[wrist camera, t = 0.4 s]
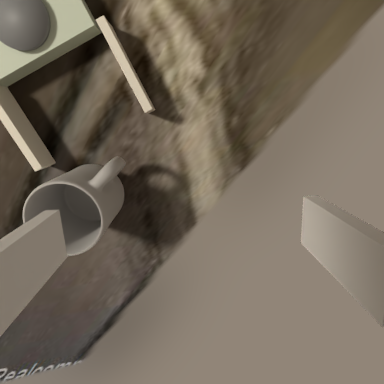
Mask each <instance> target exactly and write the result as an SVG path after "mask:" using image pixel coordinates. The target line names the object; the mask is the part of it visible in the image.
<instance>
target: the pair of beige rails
mask: <svg viewBox="0 0 384 384" xmlns="http://www.w3.org/2000/svg"><path fill="white" fill-rule="evenodd" d="M96 22H97V23H98V25H99V27H100V29H101V31H102V32H101V31H100V29H99V27H98V25H97V23H96ZM101 33H103V35H104V37H105V38H106V40H107V42H108V44H109V46H110V48H111V50H112V52H113V54H114V55H115V57H116V59H117V61H118V63H119V65H120V67H121V69H122V71H123V72H124V74H125V76H126V78H127V80H128V82H129V84H130V86H131V87H132V89H133V91H134V93H135V95H136V97H137V99H138V101H139V103H140V104H141V106H142V108H143V110H144V112H145V113H150V112H152V111H154V110H155V108H154V106H153V104H152V102H151V100H150V99H149V97H148V95H147V93H146V91H145V89H144V87H143V85H142V83H141V81H140V79H139V77H138V75H137V74H136V72H135V70H134V68H133V66H132V64H131V62H130V60H129V58H128V56H127V54H126V52H125V50H124V49H123V47H122V45H121V43H120V41H119V39H118V37H117V35H116V33H115V31H114V29H113V27H112V26H111V25H110V23H109V22H108V21H107V19H106V18H105V17H104V15H103V16H101V17H99V18H98V19H96V21H95V19H94V17H93V16H92V14H91V12H90V10H89V8H88V6H87V4H86V2H85V0H0V120H1V121H2V123H3V124H4V126H5V127H6V129H7V130H8V132H9V133H10V135H11V136H12V138H13V139H14V141H15V142H16V144H17V145H18V147H19V148H20V150H21V151H22V153H23V154H24V155H25V157H26V158H27V160H28V161H29V163H30V164H31V166H32V167H33V169H34V170H35V171H38V170H41V169H43V168H46V167H49V166H51V165H53V164H55V163H56V162H55V160H54V159H53V157H52V156H51V154H50V153H49V151H48V149H47V148H46V146H45V145H44V143H43V142H42V140H41V139H40V137H39V136H38V134H37V132H36V131H35V129H34V128H33V126H32V125H31V123H30V122H29V120H28V118H27V117H26V115H25V114H24V112H23V111H22V109H21V108H20V106H19V104H18V103H17V101H16V100H15V98H14V97H13V95H12V94H11V92H10V91H9V89H8V86H10V85H11V84H13V83H15V82H17V81H18V80H20V79H22V78H24V77H25V76H27V75H29V74H31V73H32V72H34V71H36V70H38V69H39V68H41V67H43V66H45V65H46V64H48V63H50V62H52V61H53V60H55V59H57V58H59V57H60V56H62V55H64V54H66V53H67V52H69V51H71V50H73V49H74V48H76V47H78V46H80V45H81V44H83V43H85V42H87V41H88V40H90V39H92V38H94V37H95V36H97V35H99V34H101Z"/></svg>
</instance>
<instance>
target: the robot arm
mask: <svg viewBox="0 0 384 384" xmlns="http://www.w3.org/2000/svg"><path fill="white" fill-rule="evenodd" d="M301 244H302V245H303V246H304V247H305V248H306V249H307V250H308V251H309V252H310V253H311V254H312V255H313V256H314V257H315V258H316V259H317V260H318V261H319V262H320V263H321V264H322V265H323V266H324V267H325V269H327V271H328V272H329V273H330V274H331V275H332V276H333V277H334V278H335V279H336V280H337V281H338V282H339V283H340V284H341V285H342V286H343V287H344V288H345V289H346V290H347V291H348V292H349V293H350V294H351V295H352V296H353V297H354V299H355V300H356V301H358V303H359V304H360V305H361V306H362V307H363V308H364V309H365V310H366V311H367V312H368V313H369V314H370V315H371V316H372V317H373V318H374V319H375V320H376V321H377V322H378V323H379V324H380V325H381V327H384V232H382V231H381V230H379V229H377V228H375V227H373V226H372V225H370V224H368V223H366V222H364V221H363V220H361V219H359V218H357V217H355V216H354V215H352V214H350V213H348V212H346V211H345V210H342V209H341V208H339V207H337V206H336V205H334V204H332V203H330V202H328V201H327V200H325V199H323V198H321V197H319V196H317V195H315V196H304V197H303V213H302V232H301ZM66 258H67V251H66V246H65V240H64V234H63V229H62V223H61V217H60V211H59V210H45V211H43V212H41V213H40V214H38V215H37V216H35V217H34V218H32V219H31V220H29V221H28V222H26V223H25V224H23V225H22V226H20V227H19V228H17V229H16V230H14V231H12V232H11V233H9V234H8V235H6V236H5V237H3V238H2V239H0V336H1V335H2V334H3V333H4V331H5V330H6V329H7V328H8V327H9V326H10V324H11V323H12V322H13V321H14V320H15V318H16V317H17V316H18V315H19V314H20V312H21V311H22V310H23V309H24V308H25V307H26V305H27V304H28V303H29V302H30V301H31V299H32V298H33V297H34V296H35V295H36V293H37V292H38V291H39V290H40V289H41V288H42V286H43V285H44V284H45V283H46V282H47V280H48V279H49V278H50V277H51V276H52V274H53V273H54V272H55V271H56V270H57V269H58V267H59V266H60V265H61V264H62V263H63V261H64V260H65V259H66Z"/></svg>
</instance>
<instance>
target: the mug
mask: <svg viewBox="0 0 384 384" xmlns="http://www.w3.org/2000/svg"><path fill="white" fill-rule="evenodd" d="M124 166H125V161H124V159H123V158H121V157H119V156H118V157H115V158H113V159H112V160H110V161H109V162H108V163H107V164H106V165H105V166H101V165H97V164H86V165H82V166H79V167H77V168H75V169H73V170H71V171H69V172H67V173H65V174H63V175H61V176H58V177H56V178H54V179H52V180H50V181H48V182H46V183H44V184H42V185H40V186H38V187H37V188H36V189H35V190H33V191H32V192H31V193H30V195H29V196H28V198H27V200H26V202H25V204H24V208H23V222H24V224H25V223H26V222H28V221H29V220H31V219H32V218H34V217H35V216H37V215H38V214H40V213H41V212H43V211H45V210H59V211H60V217H61V223H62V229H63V234H64V240H65V246H66V251H67V256H74V255H78V254H81V253H84V252H86V251H88V250H89V249H91V248H92V247H93V246H94V245H95V244H96V243H97V242H98V241H99V240H100V238H101V237H102V235H103V234H104V232H105V231H106V230H107V228H108V227H109V225H110V224H111V222H112V221H113V219H114V218H115V216H116V215H117V214H118V213H119V211H120V209H121V208H122V205H123V202H124V188H123V185H122V183H121V181H120V179H119V178H118V176H117V174H118V173H119V172H120V171H121V170H122V169H123V167H124Z"/></svg>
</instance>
